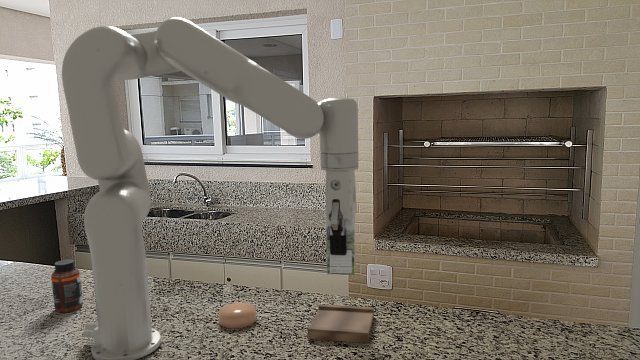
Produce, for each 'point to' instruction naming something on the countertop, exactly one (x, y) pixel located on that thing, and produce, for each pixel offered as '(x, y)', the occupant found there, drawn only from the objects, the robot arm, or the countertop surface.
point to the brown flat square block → (342, 323)
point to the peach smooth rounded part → (237, 315)
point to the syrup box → (347, 262)
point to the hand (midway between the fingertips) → (341, 248)
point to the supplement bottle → (66, 286)
